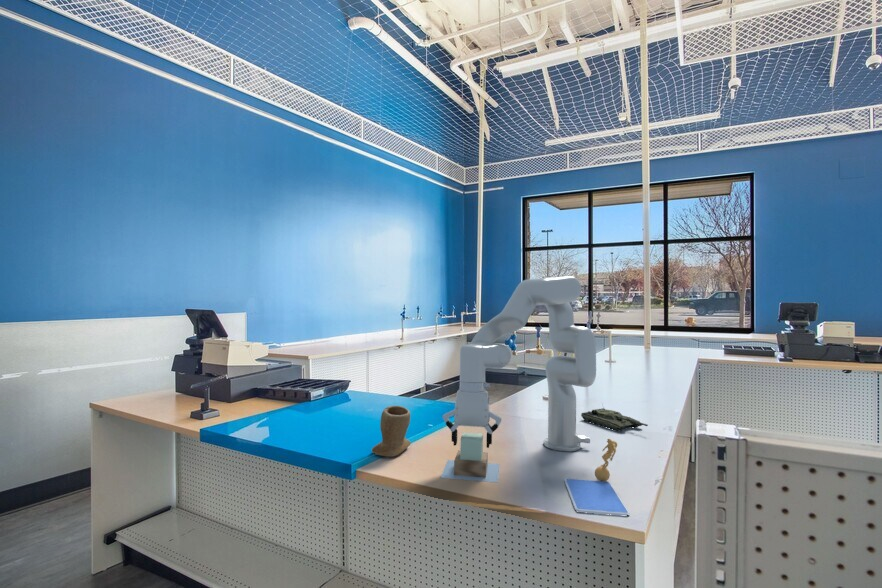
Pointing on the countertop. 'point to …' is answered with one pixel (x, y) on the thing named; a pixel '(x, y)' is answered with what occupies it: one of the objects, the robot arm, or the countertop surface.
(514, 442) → the countertop surface
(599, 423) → the toy tank
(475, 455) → the sage cube
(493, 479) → the light blue mat
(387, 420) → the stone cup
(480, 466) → the walnut base block
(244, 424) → the countertop surface
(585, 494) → the tablet computer
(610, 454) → the figurine
